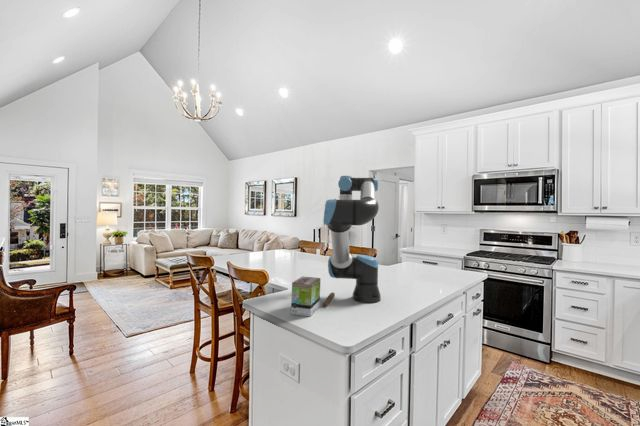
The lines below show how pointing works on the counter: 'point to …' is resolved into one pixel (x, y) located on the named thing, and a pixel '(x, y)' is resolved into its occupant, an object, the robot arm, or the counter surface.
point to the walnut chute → (328, 299)
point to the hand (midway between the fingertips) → (344, 240)
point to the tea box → (305, 296)
